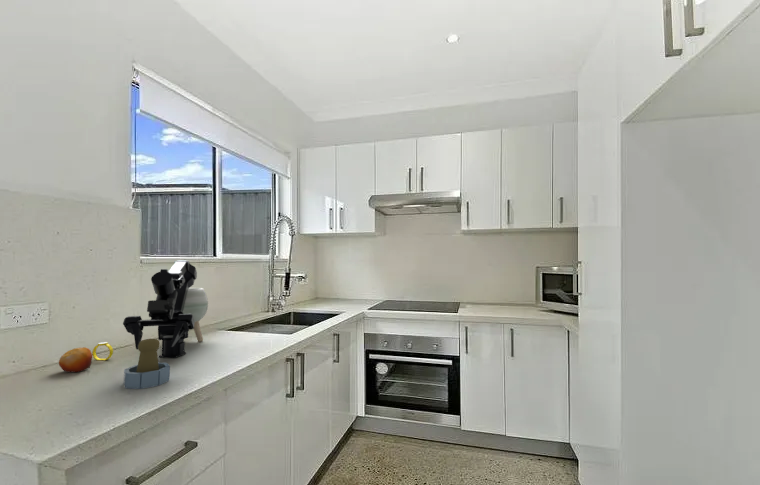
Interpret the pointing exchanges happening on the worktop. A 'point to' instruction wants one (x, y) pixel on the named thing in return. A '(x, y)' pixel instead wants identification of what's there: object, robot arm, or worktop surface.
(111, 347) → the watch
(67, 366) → the fruit
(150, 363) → the cork
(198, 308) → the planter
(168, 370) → the bowl
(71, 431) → the worktop surface
